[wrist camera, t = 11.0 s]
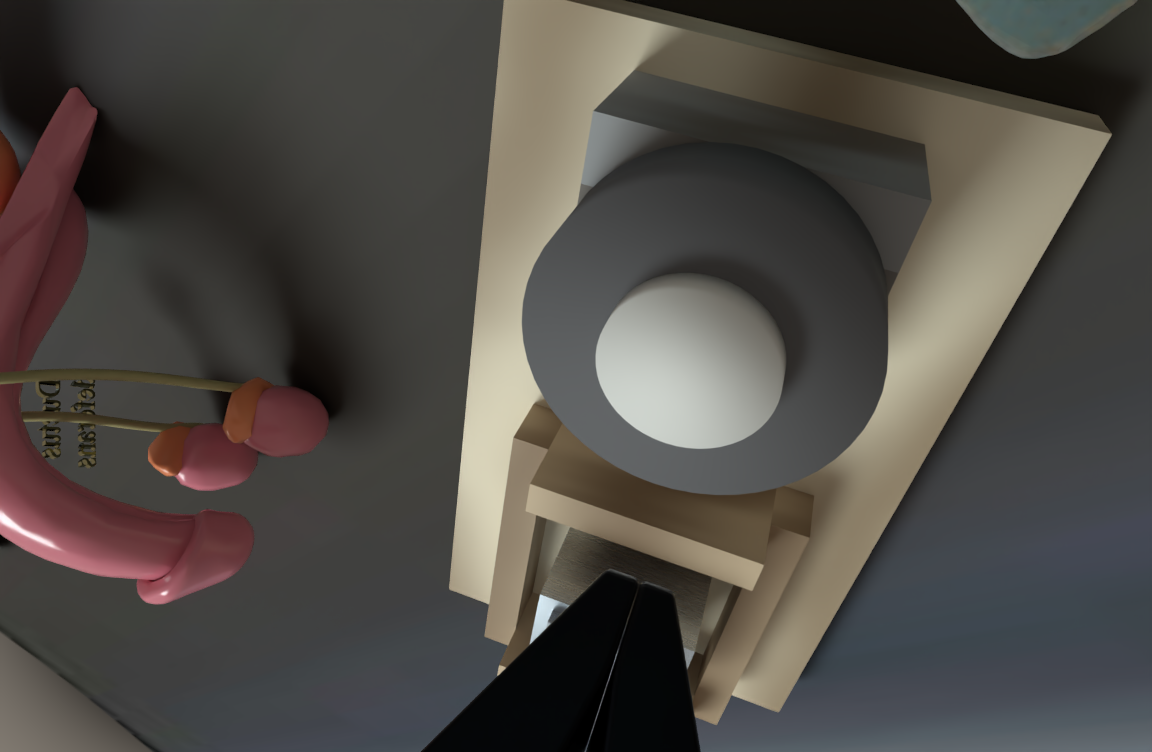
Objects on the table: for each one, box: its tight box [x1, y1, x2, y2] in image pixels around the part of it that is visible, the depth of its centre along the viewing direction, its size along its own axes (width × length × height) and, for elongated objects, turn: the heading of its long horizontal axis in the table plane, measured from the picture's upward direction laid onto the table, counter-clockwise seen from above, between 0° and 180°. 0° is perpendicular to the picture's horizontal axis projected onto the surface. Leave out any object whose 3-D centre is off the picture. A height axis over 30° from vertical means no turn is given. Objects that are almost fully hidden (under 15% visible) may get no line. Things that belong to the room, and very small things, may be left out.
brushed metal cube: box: [530, 527, 712, 737], centre depth 23 cm, size 4×5×5 cm
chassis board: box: [449, 0, 1112, 725], centre depth 21 cm, size 12×20×4 cm, turn 170°
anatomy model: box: [0, 87, 329, 604], centre depth 22 cm, size 11×15×17 cm
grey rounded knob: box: [522, 142, 888, 495], centre depth 16 cm, size 6×6×5 cm
